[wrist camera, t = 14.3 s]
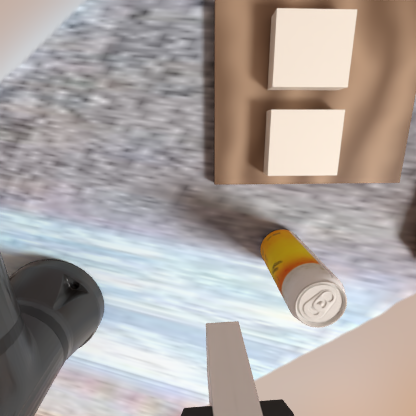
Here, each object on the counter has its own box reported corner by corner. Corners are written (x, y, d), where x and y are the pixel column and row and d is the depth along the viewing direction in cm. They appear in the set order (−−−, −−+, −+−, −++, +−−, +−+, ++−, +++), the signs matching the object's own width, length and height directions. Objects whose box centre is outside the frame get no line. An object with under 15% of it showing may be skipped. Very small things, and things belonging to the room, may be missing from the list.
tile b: (327, 172, 38) (263, 172, 38) (334, 111, 36) (266, 111, 35) (337, 175, 35) (267, 175, 35) (345, 109, 33) (271, 109, 33)
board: (214, 182, 39) (214, 184, 38) (214, 3, 33) (215, -3, 32) (392, 180, 40) (399, 182, 39) (422, 6, 34) (432, 0, 33)
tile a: (336, 90, 35) (267, 90, 35) (345, 18, 33) (270, 17, 33) (347, 87, 33) (272, 86, 32) (357, 9, 30) (276, 8, 30)
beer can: (251, 249, 42) (278, 310, 28) (278, 219, 41) (321, 266, 27) (279, 271, 43) (320, 340, 29) (306, 243, 42) (363, 300, 28)
